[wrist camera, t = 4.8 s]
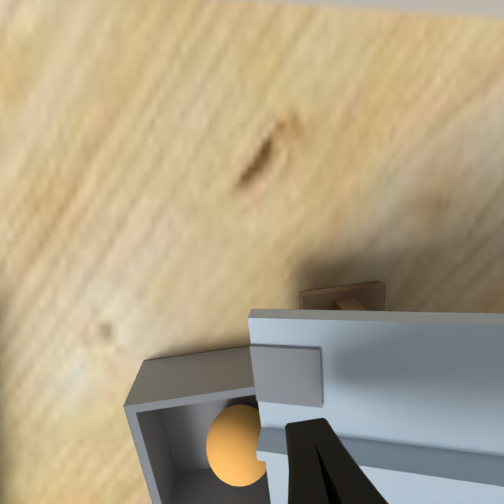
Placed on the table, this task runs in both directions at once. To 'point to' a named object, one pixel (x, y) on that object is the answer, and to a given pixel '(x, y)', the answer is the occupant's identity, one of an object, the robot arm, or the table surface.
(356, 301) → the stand
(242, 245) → the table surface
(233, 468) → the ball
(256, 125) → the table surface
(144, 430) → the grey open box
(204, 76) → the table surface
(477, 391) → the light blue flat piece
